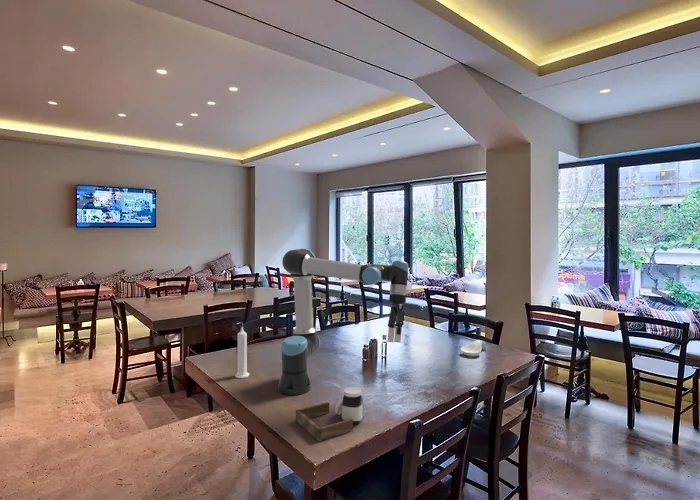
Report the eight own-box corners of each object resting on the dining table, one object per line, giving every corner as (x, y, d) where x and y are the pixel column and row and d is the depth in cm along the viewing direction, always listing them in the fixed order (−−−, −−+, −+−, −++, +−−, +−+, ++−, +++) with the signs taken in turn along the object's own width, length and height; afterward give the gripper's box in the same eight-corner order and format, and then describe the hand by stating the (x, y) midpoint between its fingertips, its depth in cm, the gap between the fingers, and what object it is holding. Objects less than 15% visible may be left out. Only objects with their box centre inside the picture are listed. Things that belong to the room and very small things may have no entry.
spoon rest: (475, 360, 230) (475, 347, 230) (457, 355, 238) (457, 344, 238) (492, 351, 247) (492, 340, 247) (474, 347, 255) (474, 336, 255)
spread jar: (359, 427, 147) (360, 396, 147) (330, 423, 149) (330, 393, 149) (365, 413, 159) (365, 384, 159) (337, 410, 161) (337, 382, 161)
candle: (240, 379, 196) (239, 329, 195) (232, 375, 200) (232, 327, 200) (252, 375, 201) (252, 326, 200) (244, 372, 206) (244, 324, 205)
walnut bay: (295, 420, 152) (295, 410, 152) (327, 411, 160) (327, 402, 160) (318, 441, 137) (318, 429, 136) (352, 430, 144) (352, 419, 144)
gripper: (413, 292, 169) (409, 343, 164) (399, 298, 193) (395, 342, 188) (396, 290, 168) (391, 341, 163) (384, 296, 192) (380, 340, 187)
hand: (393, 342), depth 176 cm, fingers open, 13 cm apart
